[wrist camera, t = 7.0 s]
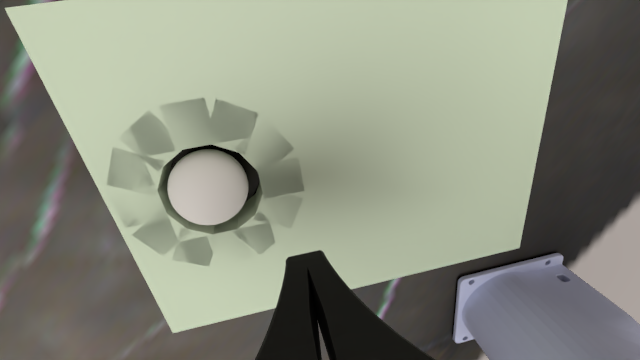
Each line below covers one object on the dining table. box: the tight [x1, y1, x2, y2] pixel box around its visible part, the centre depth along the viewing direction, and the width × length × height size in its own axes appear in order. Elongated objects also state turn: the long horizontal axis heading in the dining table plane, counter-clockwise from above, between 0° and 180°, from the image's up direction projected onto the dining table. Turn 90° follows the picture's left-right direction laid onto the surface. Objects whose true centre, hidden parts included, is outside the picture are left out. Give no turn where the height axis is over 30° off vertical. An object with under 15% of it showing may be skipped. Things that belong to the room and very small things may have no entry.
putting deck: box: [5, 0, 568, 333], centre depth 18 cm, size 24×18×2 cm
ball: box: [167, 149, 248, 225], centre depth 16 cm, size 4×4×4 cm
